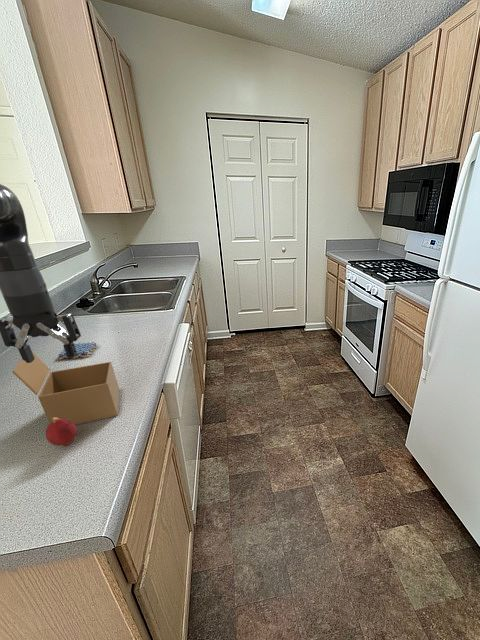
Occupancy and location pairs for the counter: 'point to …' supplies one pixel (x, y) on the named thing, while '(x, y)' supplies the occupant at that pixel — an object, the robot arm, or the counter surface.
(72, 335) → the robot arm
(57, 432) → the onion
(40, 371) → the flap
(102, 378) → the carton
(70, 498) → the counter surface
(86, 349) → the woven mat
